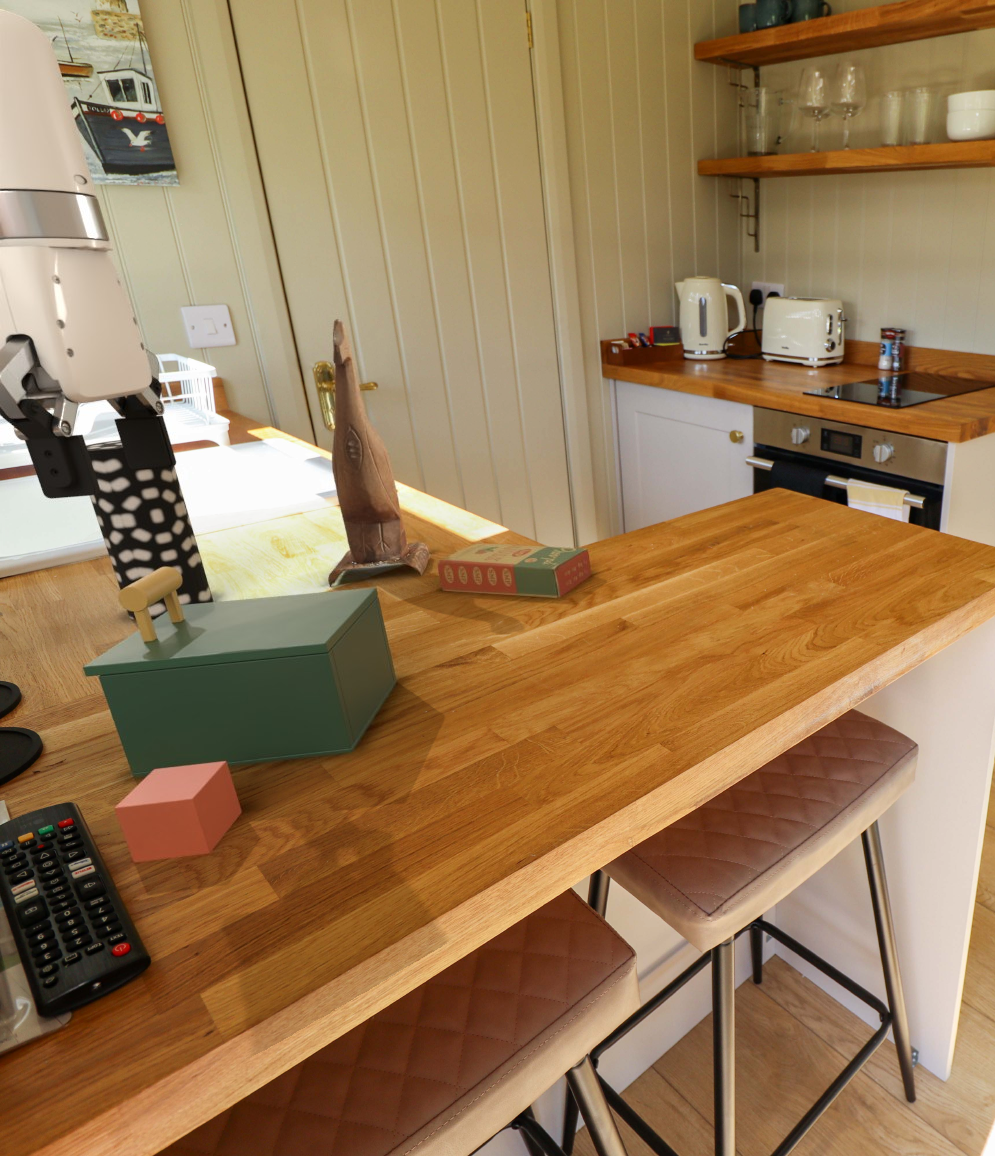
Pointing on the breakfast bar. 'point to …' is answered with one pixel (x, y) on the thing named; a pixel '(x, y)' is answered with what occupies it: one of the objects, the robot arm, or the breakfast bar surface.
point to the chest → (255, 704)
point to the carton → (515, 570)
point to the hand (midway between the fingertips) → (116, 481)
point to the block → (179, 811)
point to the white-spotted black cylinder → (146, 525)
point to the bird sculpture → (365, 478)
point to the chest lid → (226, 627)
